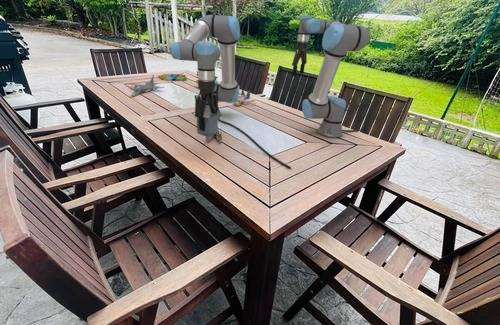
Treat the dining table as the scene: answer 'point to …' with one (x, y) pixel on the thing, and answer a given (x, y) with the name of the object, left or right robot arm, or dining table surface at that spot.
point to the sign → (172, 77)
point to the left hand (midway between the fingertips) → (207, 127)
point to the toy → (243, 98)
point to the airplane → (145, 87)
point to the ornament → (197, 80)
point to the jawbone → (215, 136)
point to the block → (209, 124)
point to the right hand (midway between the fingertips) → (297, 74)
